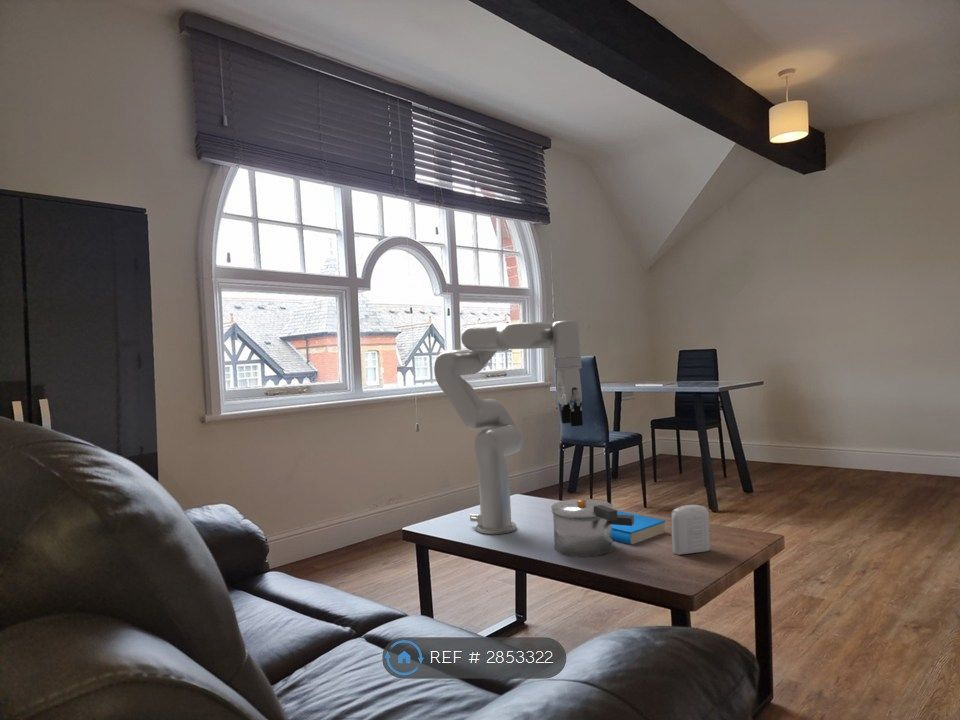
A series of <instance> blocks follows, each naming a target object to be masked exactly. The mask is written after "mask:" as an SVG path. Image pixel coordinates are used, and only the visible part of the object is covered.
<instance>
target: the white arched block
mask: <svg viewBox="0 0 960 720" xmlns="http://www.w3.org/2000/svg"><path fill="white" fill-rule="evenodd" d="M670 522H671V525H670V527H671V529H670V530H671V549H672V553H673V554H675V555H679V556H680V555H687V554H688V555H689V554H695V553H704V552H709V551H710V550H711V547H710V546H711V545H710V544H711V543H710V542H711V541H710V536H711V535H710V513H709V510H708V508H707V507H706V506H703V505H698V504H686V505H682V506H679V507H677V508H674V509H673V510H672V511H671V513H670Z"/></svg>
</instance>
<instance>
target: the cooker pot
mask: <svg viewBox="0 0 960 720" xmlns="http://www.w3.org/2000/svg"><path fill="white" fill-rule="evenodd" d="M552 515H553V517H552V518H553V538H554V539H553V540H554V542H553V543H554V544H553V545H554V550H555V551H556V552H557V551H558V552H557V553H559V552H560V553H559V554H561V553H562V555H564V554H565V555H564V556H569V555H570V557H576V556H577V557H578V558H579V557H581V558H589V557H598V556H604V555H606V554H609V553H611V552H612V551H613V549H614V543H613V542H614V540H613V536H612V524H613V525H626V526H632V525H633V524H634V516H632V515H618V514H617V520H612V521H608V520H606V519H603V518H600V517H597V518H586V519H578V518H566V517H561V516H557V515H555V514H553V513H552Z"/></svg>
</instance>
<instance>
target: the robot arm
mask: <svg viewBox="0 0 960 720" xmlns="http://www.w3.org/2000/svg"><path fill="white" fill-rule="evenodd" d="M579 328H580V326H579V323H578V321H576V320H575V319H566V320H565V319H564V320H558V321H554V322H541V321H540V322H539V321H537V322H535V321H534V322H531V321H529V322H515V323H514V322H513V323H507V322H499V323H480V324H472V325H468V326H467V327H465V329H464V330H463V331H462V333H461V339H460V340H461V343H462V345H463V346H464V347H465V349H449V350H445V351H443V352H441V353H440V354H438V355H437V357H436V359H435V362H434V366H433V367H434V369H433V373H434V377H435V381H436V383H437V385H438V386H439V388H440V389H441V391H442V393H444V395H445V396H446V397H447V399H448V400H449V402H450V403H451V405H452V407H453V408H454V410H455V412H456V413H457V416H459V418H460V419H461V421H462V423H463V424H464V426H465V427H466V428H467V429H469V430H471V431H479V432H478V434H476V437H475V438H474V442H473V446H474V447H473V448H474V449H473V450H474V453H475V456H476V461H477V469H478V470H477V471H478V484H479V485H478V488H479V489H478V490H479V511H480V513H479V514H477V513H470V515H469V521H470V522H476V523H477V524H476V527H475V528H476V529H475V530H476V531H477V532H478V533H481V534H486V535H501V534H508V533H512V532H515V530H516V529H517V523H516V522H514V521H512V508H511V486H510V483H511V482H510V472H509V471H510V470H509V467H508V464H507V462H506V460H505V457H507V456H511V455H514V454H516V453H518V452H519V451H521V450H522V447H523V444H524V437H523V434H522V431H521V430H520V428H519V427H518V424H517V423H516V422H515V420H514V418H513V417H512V416H511V414H510V413H509V411H508V410H507V408H506V407H505V405H504V404H503V403H502V402H501V401H499V400H497V399H495V398H485V399H483V398H480V397H479V395H478V394H477V393H476V391H475V390H474V388H473V386H472V385H471V384H470V383H469V382H467V381H466V380H465V379H464V378H462V376H469V375H475V374H478V373H479V372H481V371H482V370H483V369H484V368H485V366H486V365H487V364H489V362H490V360H491V359H492V358H493V357H494V355H495V354H496V353H497V352H500V351H501V352H502V351H505V352H506V351H509V350H525V349H526V350H529V349H532V350H533V349H550V348H553V358H554V359H553V361H554V370H555V371H556V398H557V399H556V401H557V403H558V404H560V410H561V424H562V423H563V424H570V425H571V427H579V426H580V427H581V426H583V424H584V422H583V408H582V404H583V403H582V400H583V398H582V397H583V393H582V383H581V373H580V369H582V368H583V367H582V356H581V355H582V353H581V340H580V339H581V338H580V329H579Z"/></svg>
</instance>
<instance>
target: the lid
mask: <svg viewBox="0 0 960 720" xmlns="http://www.w3.org/2000/svg"><path fill="white" fill-rule="evenodd" d="M617 511H618V509H614V507H613V504H612V503H610V502H608V501H604V500H598V499H587V498H584V499H583V498H582V499H581V498H580V499H577V498H576V499H575V498H574V499H568V500H562V501H557V502H554V503H553V504H552V505H551V513H552V515H553V514H555V515H557V516H561V517H566V518H578V519H586V518H597V517H600V518H603V519H606V520H608V521H612V520H617Z"/></svg>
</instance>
